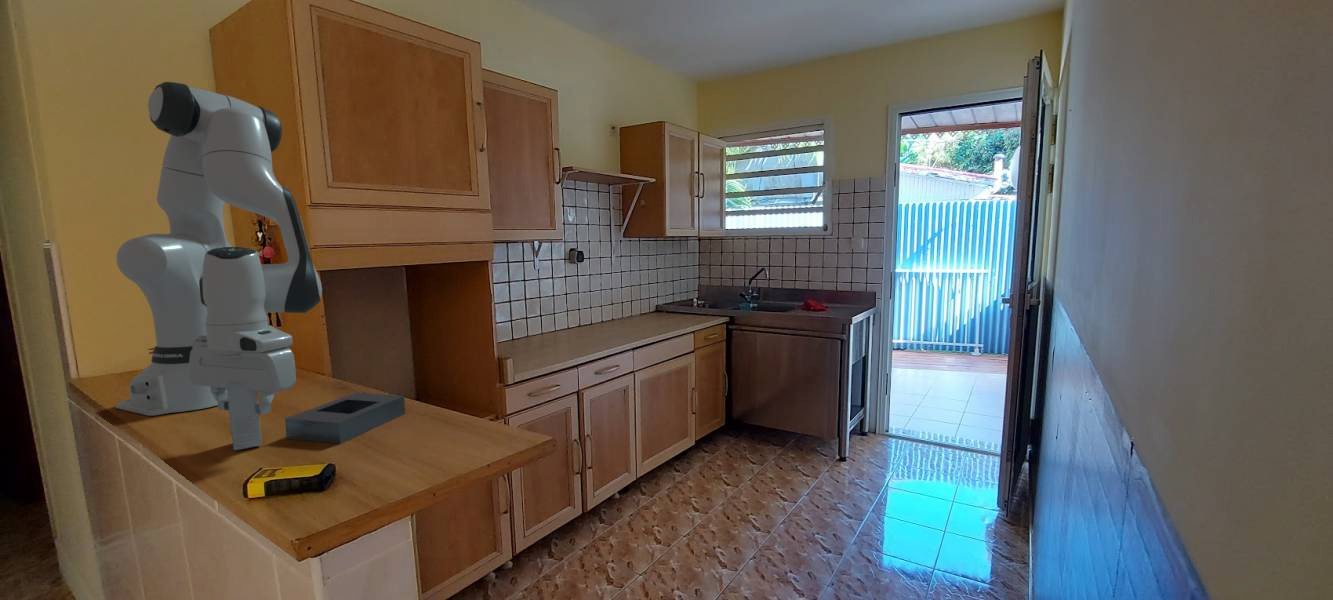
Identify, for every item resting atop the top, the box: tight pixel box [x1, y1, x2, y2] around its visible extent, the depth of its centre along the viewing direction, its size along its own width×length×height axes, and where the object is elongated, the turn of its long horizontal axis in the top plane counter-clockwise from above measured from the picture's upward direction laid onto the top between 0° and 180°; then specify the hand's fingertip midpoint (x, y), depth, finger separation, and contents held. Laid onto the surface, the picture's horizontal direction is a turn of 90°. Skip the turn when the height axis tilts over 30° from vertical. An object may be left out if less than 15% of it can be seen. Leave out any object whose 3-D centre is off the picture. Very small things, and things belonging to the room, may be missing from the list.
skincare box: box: [227, 383, 263, 451], centre depth 99 cm, size 6×4×12 cm
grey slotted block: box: [284, 392, 406, 445], centre depth 111 cm, size 12×18×4 cm, turn 168°
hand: (244, 411), depth 99 cm, fingers closed on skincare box, 7 cm apart
